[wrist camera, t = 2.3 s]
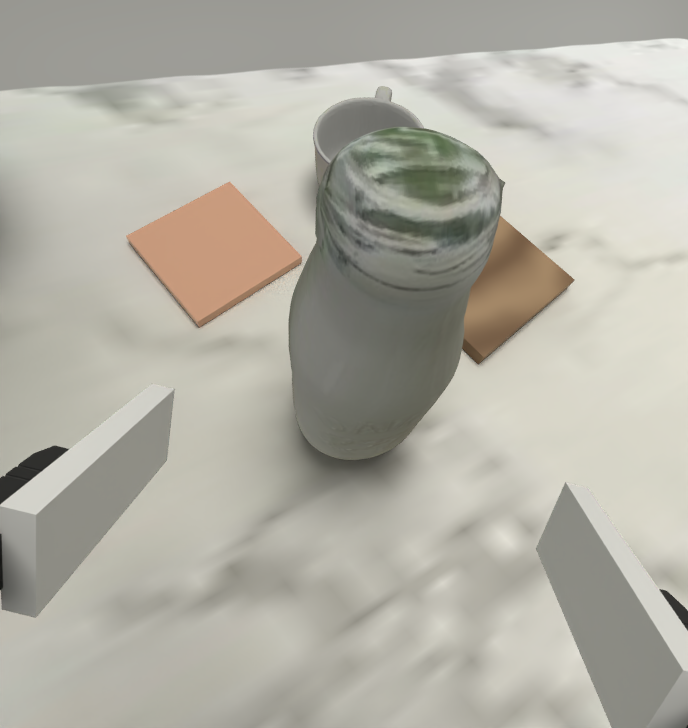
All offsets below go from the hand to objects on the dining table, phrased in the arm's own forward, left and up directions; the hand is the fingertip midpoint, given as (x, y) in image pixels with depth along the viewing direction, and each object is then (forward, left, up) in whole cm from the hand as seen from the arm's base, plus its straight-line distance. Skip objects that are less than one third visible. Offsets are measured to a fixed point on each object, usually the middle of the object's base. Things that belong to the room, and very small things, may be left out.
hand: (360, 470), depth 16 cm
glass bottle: (-6, +8, -24) cm, 26 cm away
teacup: (-25, +27, -24) cm, 44 cm away
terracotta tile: (-27, +9, -24) cm, 37 cm away
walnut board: (-9, +28, -24) cm, 38 cm away
